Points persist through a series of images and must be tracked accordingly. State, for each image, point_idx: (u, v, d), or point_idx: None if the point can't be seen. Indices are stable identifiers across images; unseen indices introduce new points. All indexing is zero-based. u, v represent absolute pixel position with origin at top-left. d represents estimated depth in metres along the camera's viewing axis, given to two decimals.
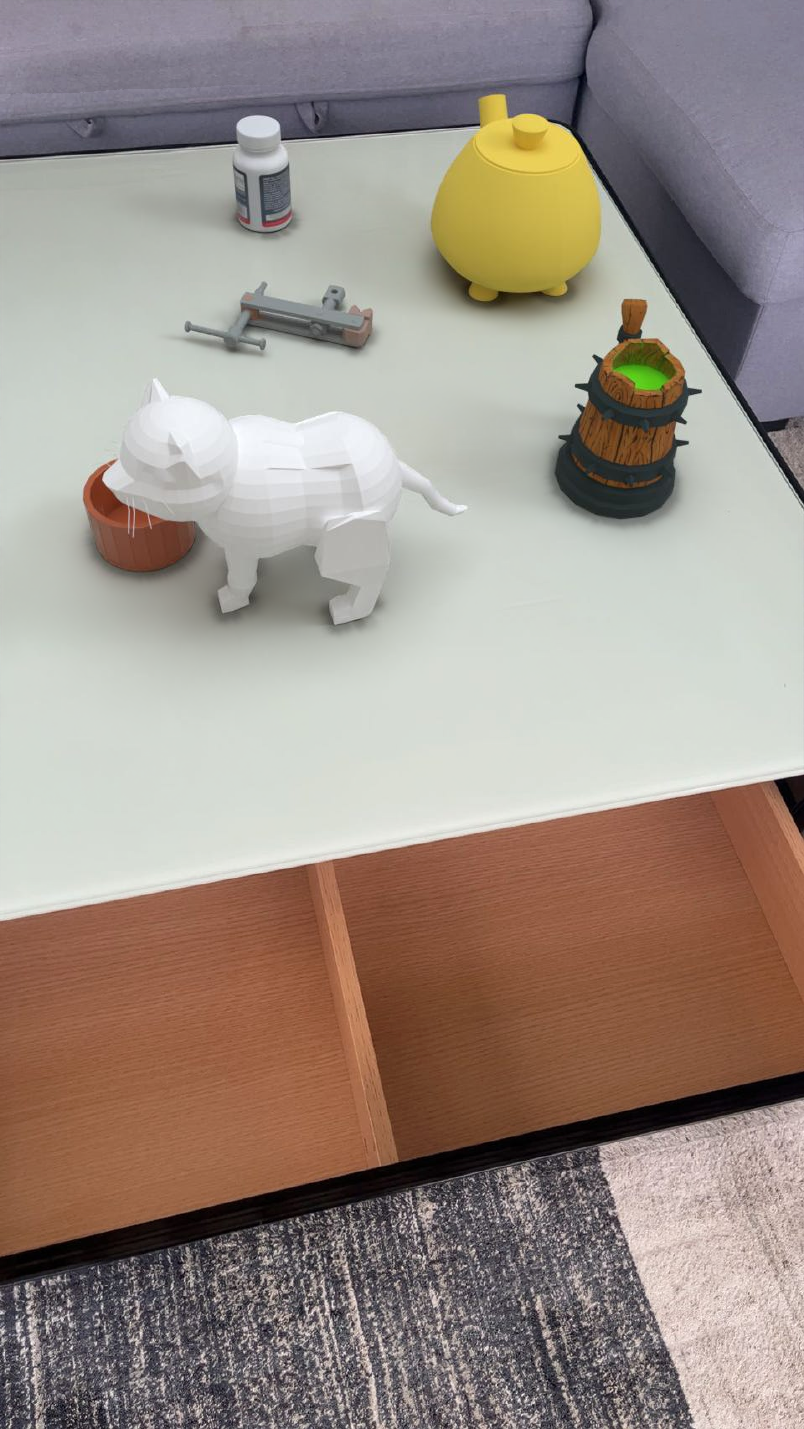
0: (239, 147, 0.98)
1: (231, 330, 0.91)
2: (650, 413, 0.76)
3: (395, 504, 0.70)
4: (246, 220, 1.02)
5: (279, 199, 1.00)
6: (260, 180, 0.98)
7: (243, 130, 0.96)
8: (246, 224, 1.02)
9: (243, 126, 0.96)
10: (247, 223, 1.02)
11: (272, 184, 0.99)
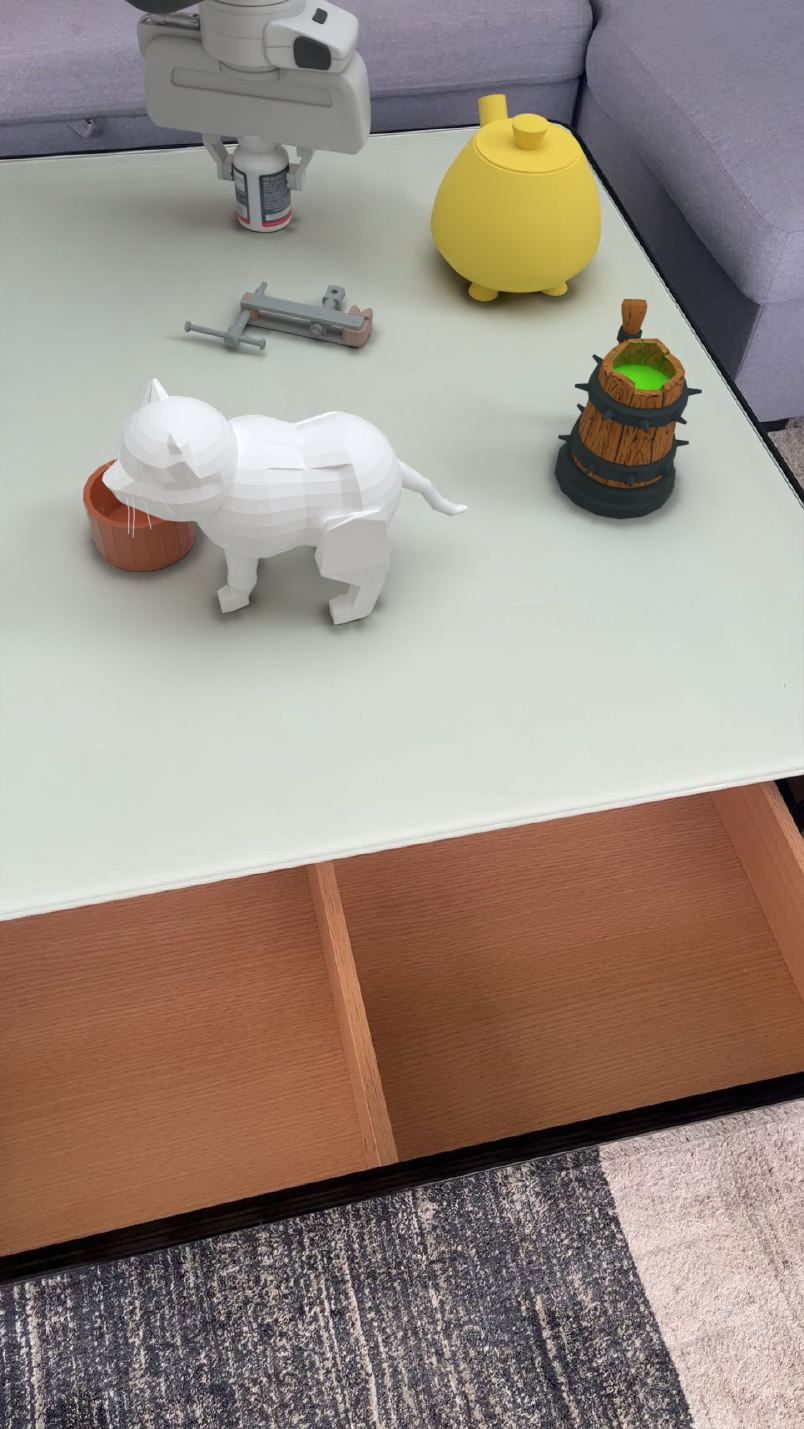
0: (239, 147, 0.98)
1: (231, 330, 0.91)
2: (650, 413, 0.76)
3: (395, 504, 0.70)
4: (246, 220, 1.02)
5: (279, 199, 1.00)
6: (260, 180, 0.98)
7: None
8: (246, 224, 1.02)
9: None
10: (247, 222, 1.02)
11: (272, 184, 0.99)
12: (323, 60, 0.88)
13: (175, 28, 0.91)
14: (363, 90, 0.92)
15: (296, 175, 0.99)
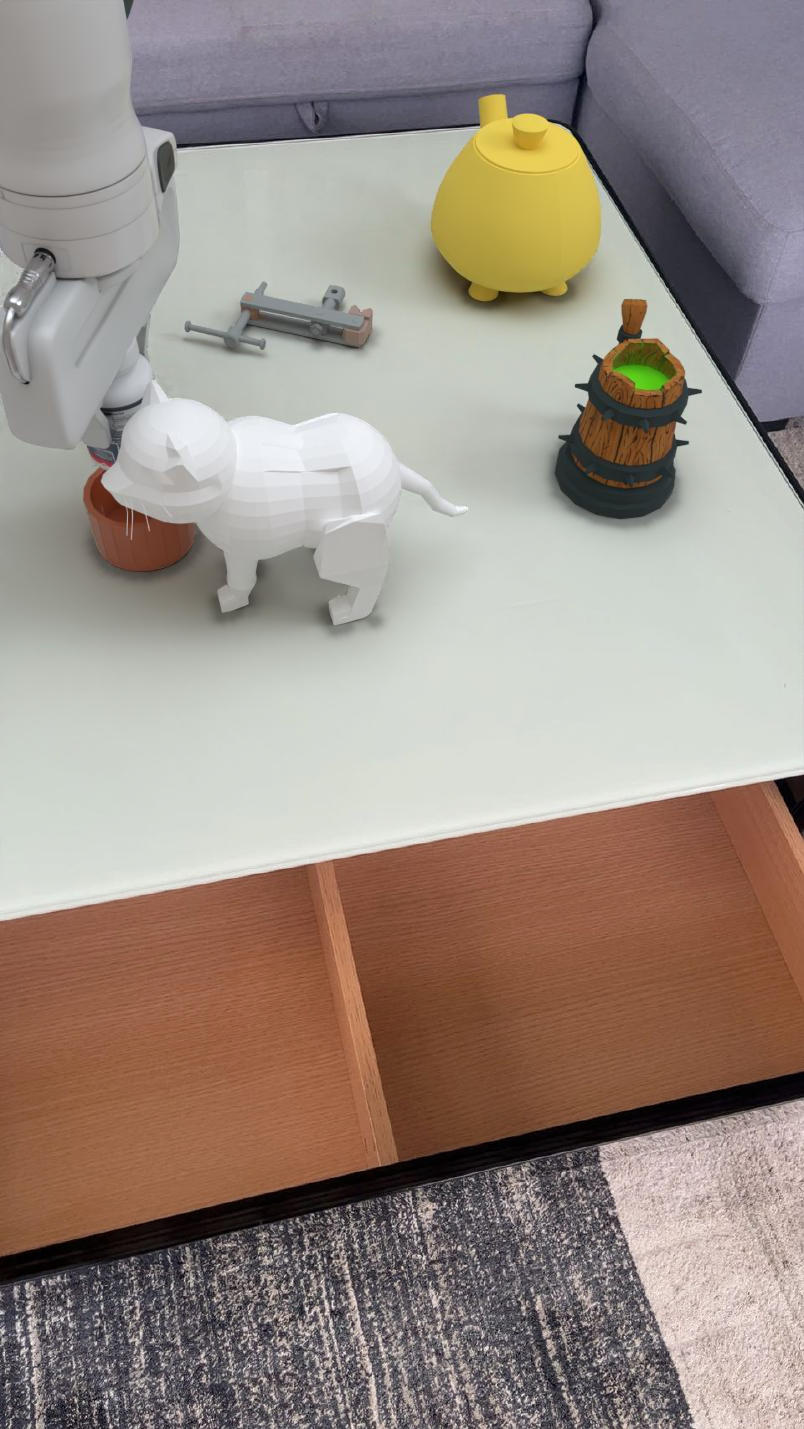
0: None
1: (231, 330, 0.91)
2: (650, 413, 0.76)
3: (394, 506, 0.69)
4: None
5: None
6: None
7: None
8: None
9: None
10: None
11: None
12: (171, 162, 0.62)
13: (36, 297, 0.55)
14: None
15: (145, 353, 0.70)
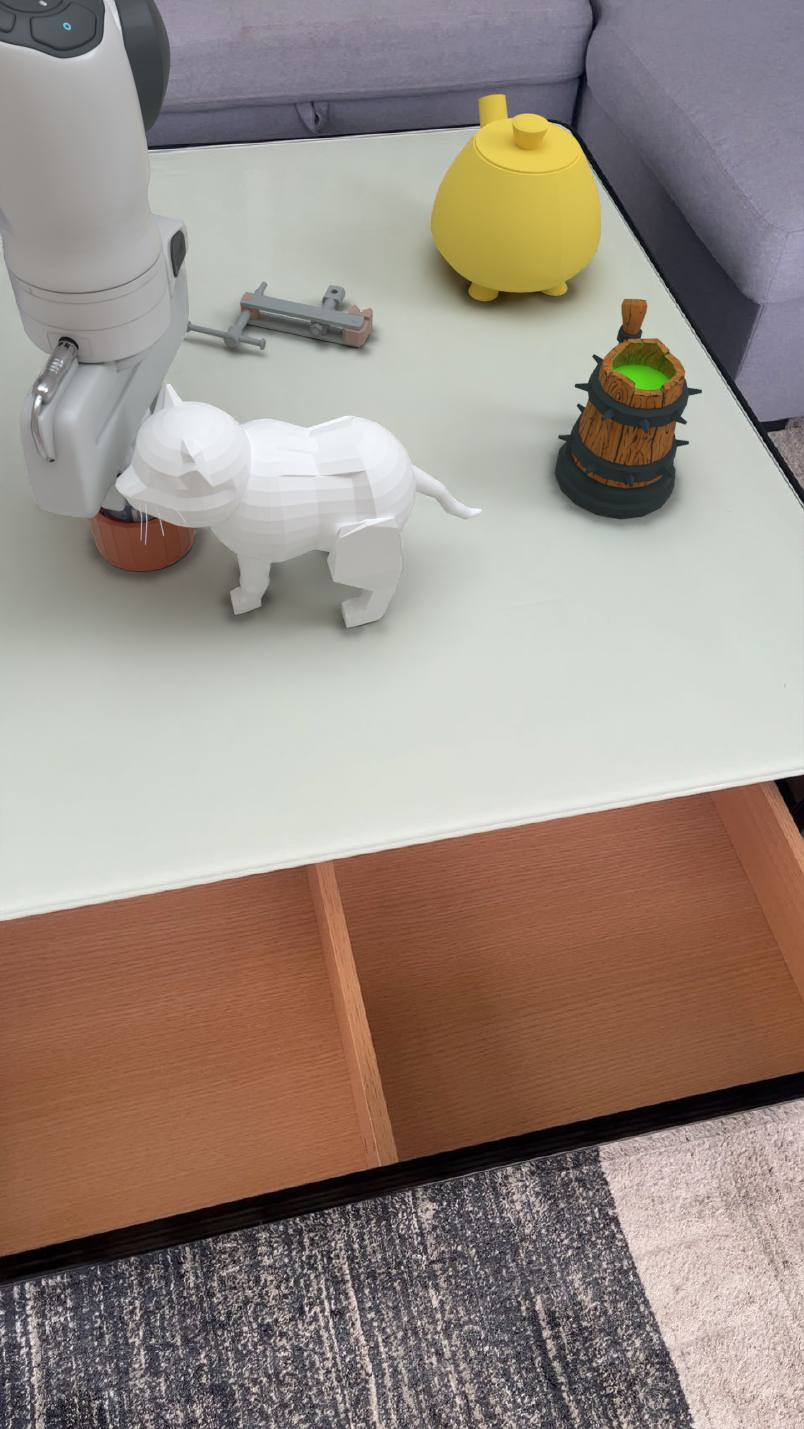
0: None
1: (231, 330, 0.91)
2: (650, 413, 0.76)
3: (408, 510, 0.69)
4: None
5: None
6: None
7: None
8: None
9: None
10: None
11: None
12: (182, 248, 0.67)
13: (61, 382, 0.60)
14: None
15: None
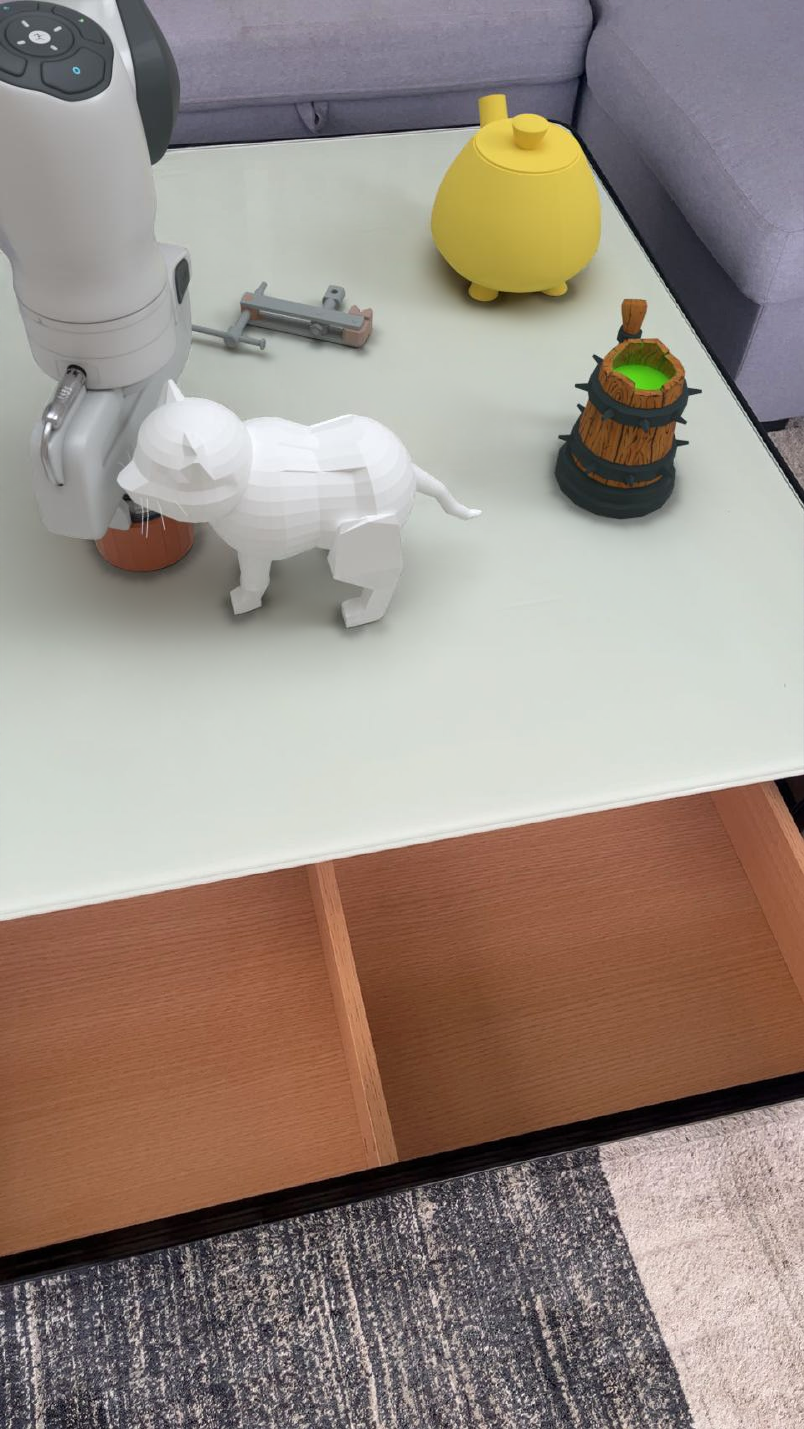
0: None
1: (231, 330, 0.91)
2: (650, 413, 0.76)
3: (409, 508, 0.69)
4: None
5: None
6: None
7: None
8: None
9: None
10: None
11: None
12: (186, 275, 0.69)
13: (70, 409, 0.61)
14: None
15: None
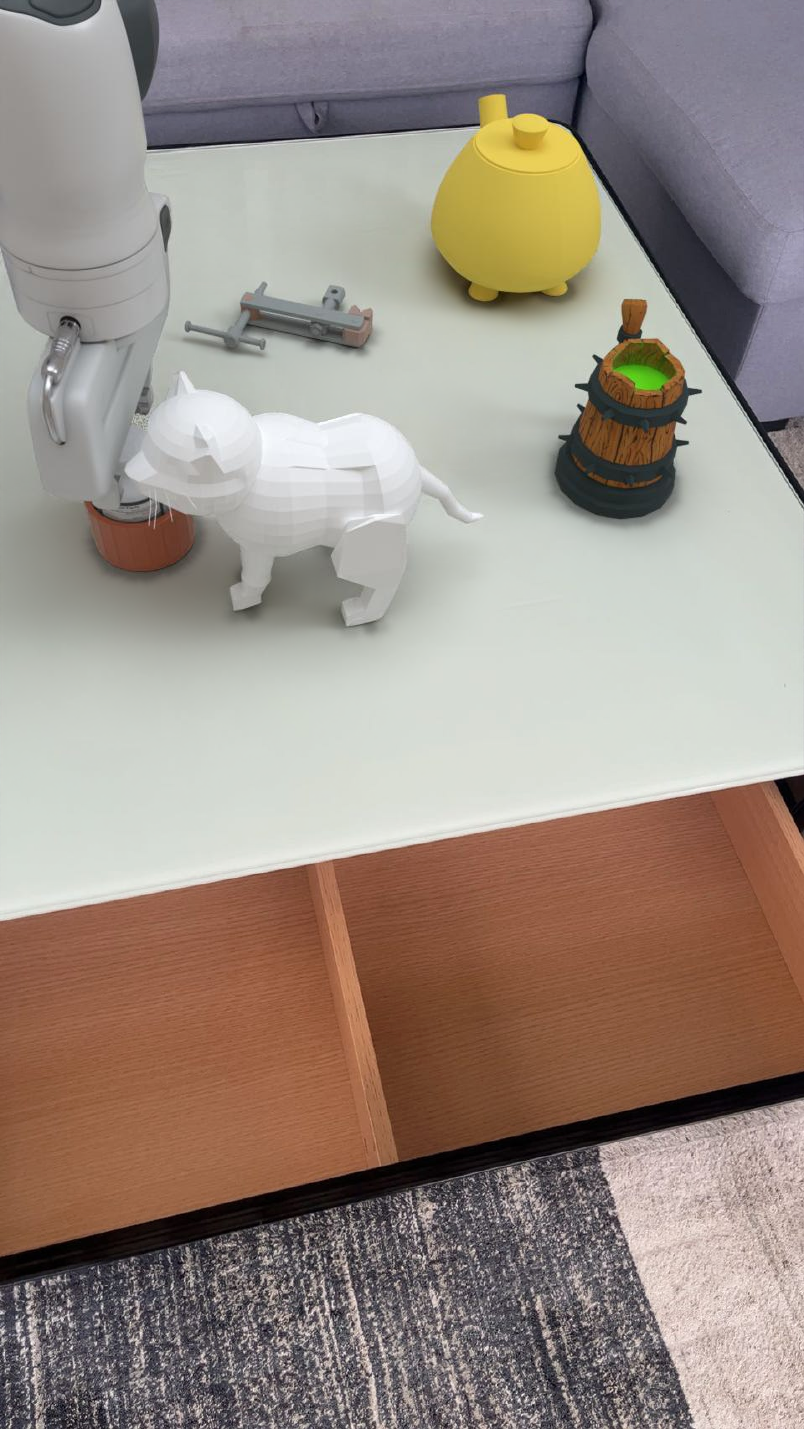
0: None
1: (231, 330, 0.91)
2: (650, 413, 0.76)
3: (415, 508, 0.70)
4: None
5: None
6: None
7: (131, 455, 0.71)
8: None
9: None
10: None
11: None
12: (168, 223, 0.66)
13: (67, 363, 0.59)
14: None
15: (150, 387, 0.74)
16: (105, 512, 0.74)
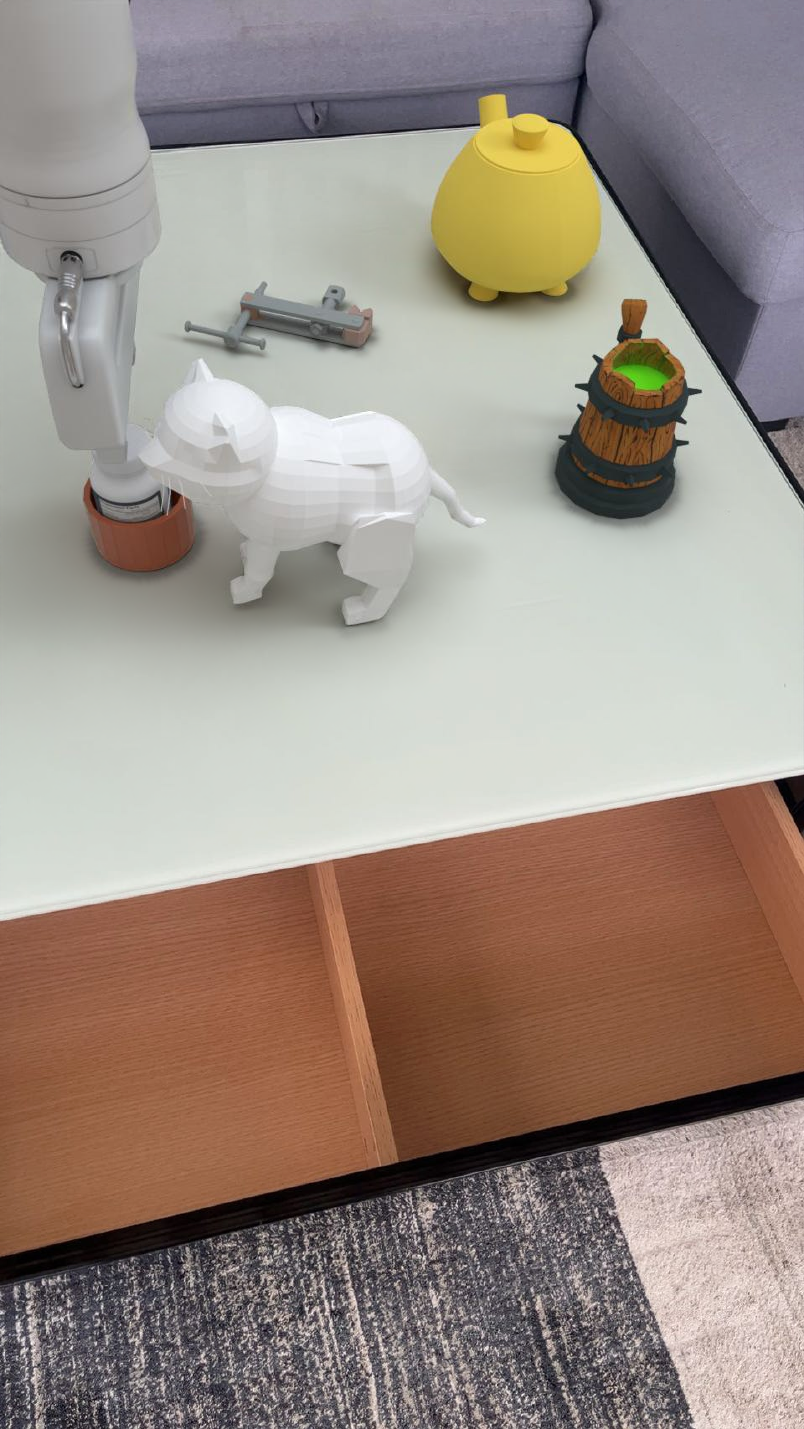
0: (119, 484, 0.72)
1: (231, 330, 0.91)
2: (650, 413, 0.76)
3: (423, 509, 0.70)
4: None
5: None
6: None
7: (131, 455, 0.71)
8: None
9: None
10: None
11: None
12: None
13: (76, 299, 0.56)
14: None
15: None
16: (105, 512, 0.74)
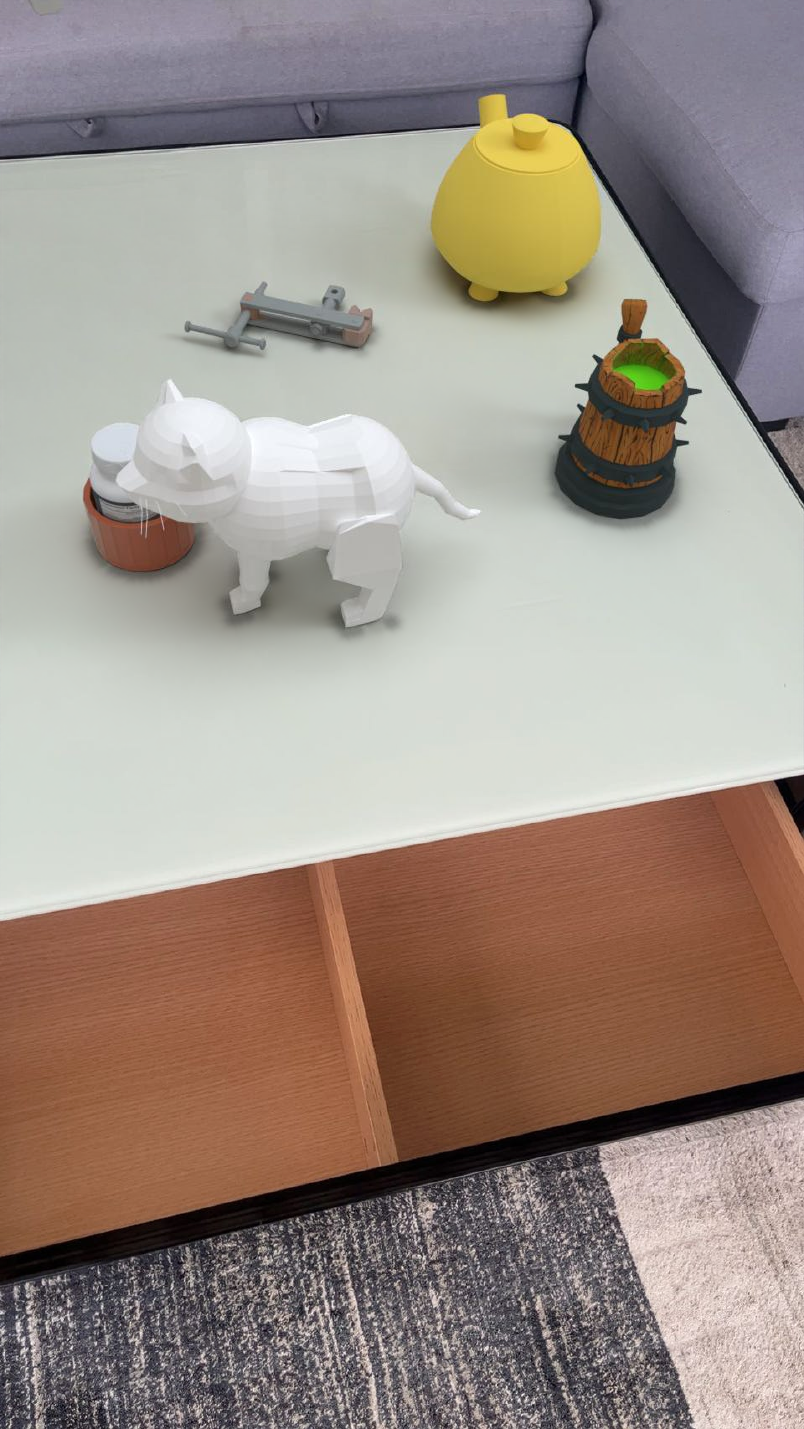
0: None
1: (231, 330, 0.91)
2: (650, 413, 0.76)
3: (408, 508, 0.69)
4: None
5: None
6: None
7: (131, 455, 0.71)
8: None
9: (119, 455, 0.71)
10: None
11: None
12: None
13: None
14: None
15: None
16: (105, 512, 0.74)
